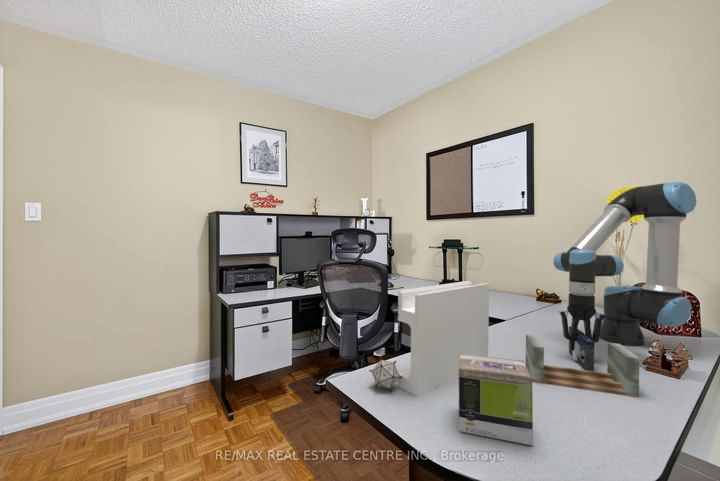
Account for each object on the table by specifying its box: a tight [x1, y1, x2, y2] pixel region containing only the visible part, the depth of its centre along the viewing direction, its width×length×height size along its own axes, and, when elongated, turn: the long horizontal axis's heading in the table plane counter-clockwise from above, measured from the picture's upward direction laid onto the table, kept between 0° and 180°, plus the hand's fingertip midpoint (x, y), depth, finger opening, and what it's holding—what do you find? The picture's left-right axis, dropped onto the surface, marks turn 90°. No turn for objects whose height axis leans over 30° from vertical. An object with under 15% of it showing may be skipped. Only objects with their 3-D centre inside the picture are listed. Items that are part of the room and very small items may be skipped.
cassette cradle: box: [525, 333, 641, 398], centre depth 95 cm, size 26×12×11 cm, turn 70°
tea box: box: [458, 354, 534, 446], centre depth 71 cm, size 15×10×15 cm, turn 71°
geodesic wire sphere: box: [368, 357, 402, 393], centre depth 89 cm, size 9×8×10 cm
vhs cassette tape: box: [568, 325, 596, 371], centre depth 109 cm, size 18×3×10 cm, turn 159°
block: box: [397, 280, 490, 398], centre depth 98 cm, size 35×8×28 cm, turn 127°
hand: (580, 359), depth 109 cm, fingers closed on vhs cassette tape, 2 cm apart
